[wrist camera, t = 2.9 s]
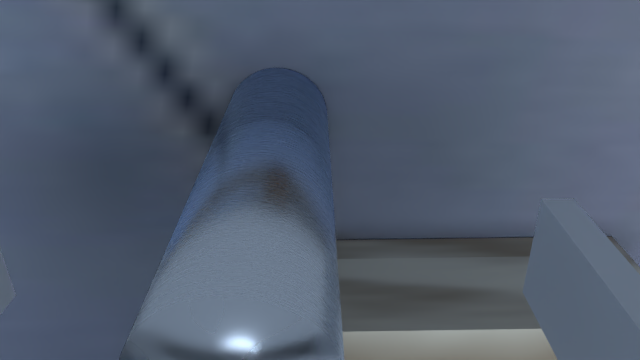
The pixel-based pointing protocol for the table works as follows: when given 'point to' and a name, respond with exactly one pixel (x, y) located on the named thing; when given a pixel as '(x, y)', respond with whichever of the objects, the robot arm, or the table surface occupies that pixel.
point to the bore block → (439, 299)
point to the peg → (253, 239)
